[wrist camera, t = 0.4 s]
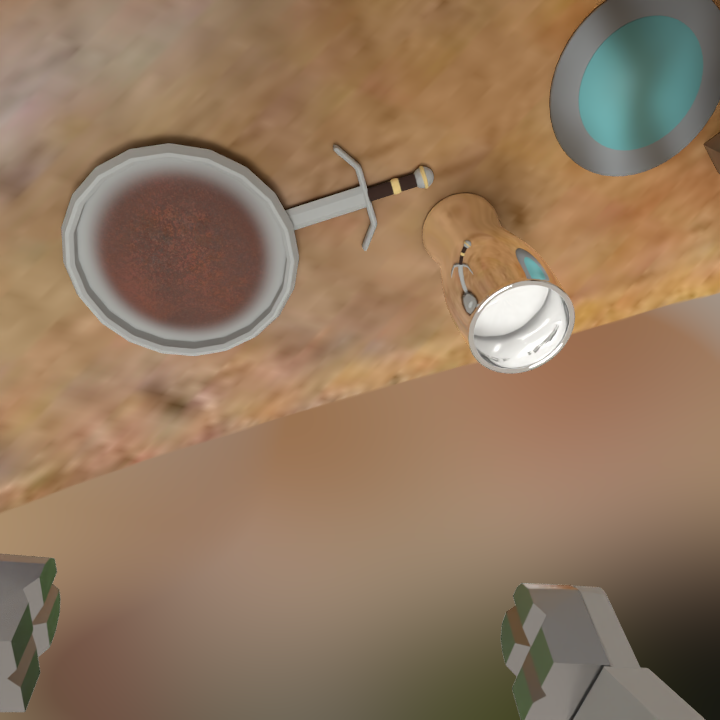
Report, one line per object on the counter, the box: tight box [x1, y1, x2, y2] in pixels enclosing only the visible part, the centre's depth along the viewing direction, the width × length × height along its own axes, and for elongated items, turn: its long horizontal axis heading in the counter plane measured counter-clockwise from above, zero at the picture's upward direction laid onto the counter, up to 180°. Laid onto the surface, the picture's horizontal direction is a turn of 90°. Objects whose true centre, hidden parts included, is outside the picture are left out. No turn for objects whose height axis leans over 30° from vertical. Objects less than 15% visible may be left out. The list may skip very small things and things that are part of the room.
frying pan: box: [61, 143, 434, 356], centre depth 49 cm, size 17×3×28 cm
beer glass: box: [422, 193, 575, 373], centre depth 45 cm, size 7×7×15 cm
